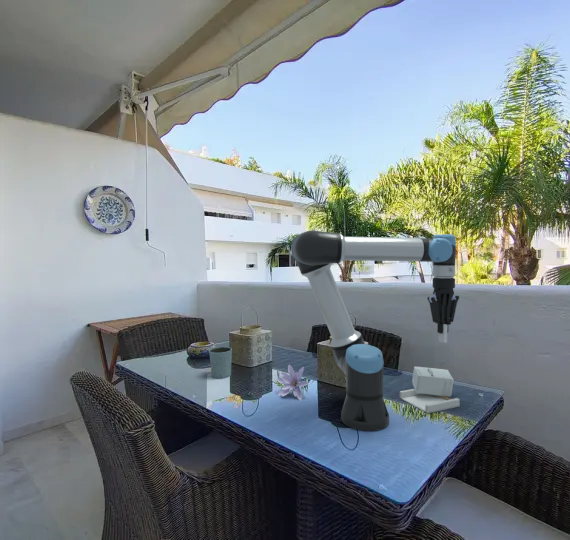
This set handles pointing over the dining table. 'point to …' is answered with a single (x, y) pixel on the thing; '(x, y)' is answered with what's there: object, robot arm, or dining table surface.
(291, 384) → the water lily
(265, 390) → the dining table surface
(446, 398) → the stop batten
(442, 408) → the cradle
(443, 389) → the supplement box
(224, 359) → the grey-green cup
